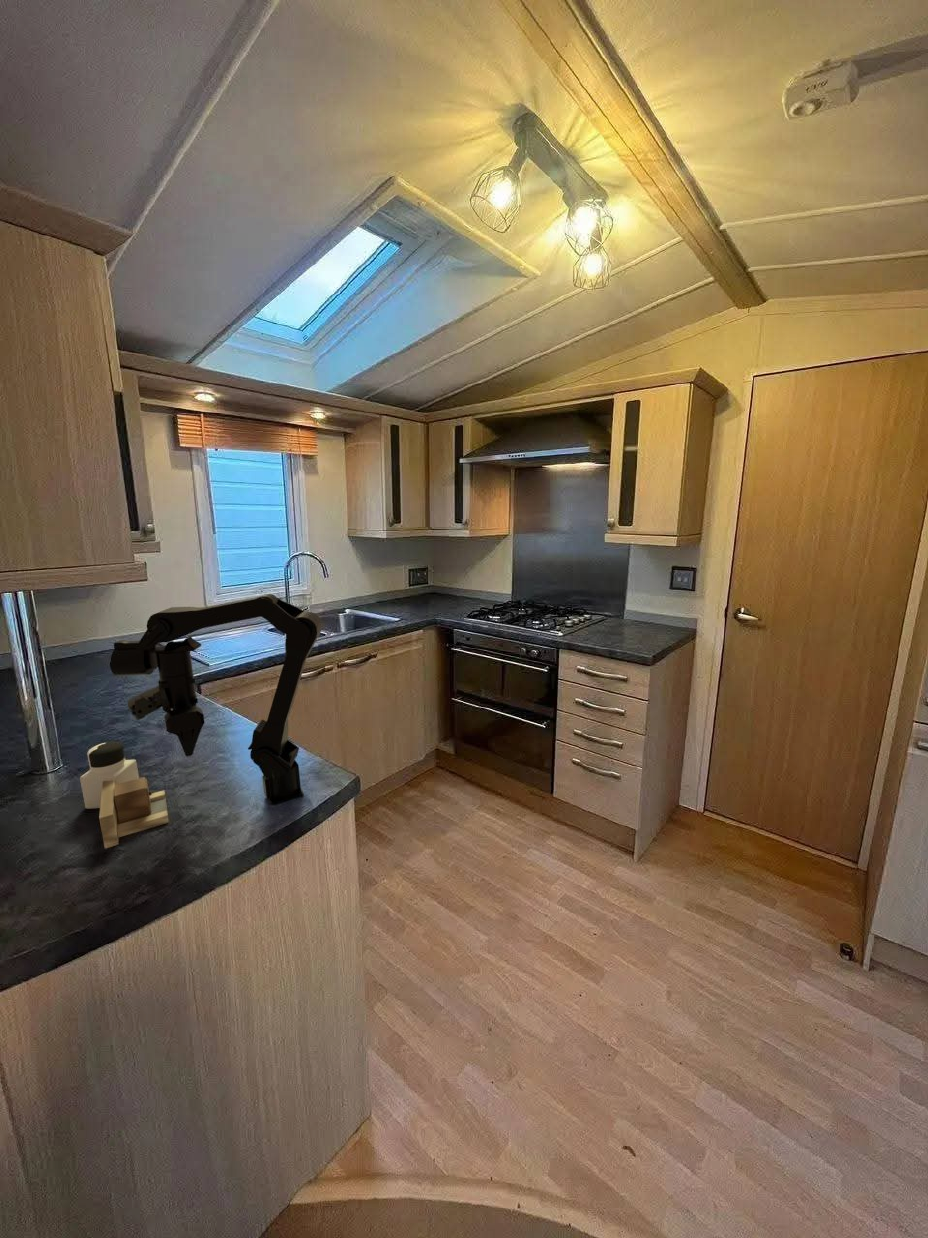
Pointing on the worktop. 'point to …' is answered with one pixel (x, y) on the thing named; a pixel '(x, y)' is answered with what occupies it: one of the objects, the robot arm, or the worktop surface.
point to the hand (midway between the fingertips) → (186, 747)
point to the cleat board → (116, 830)
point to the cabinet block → (132, 800)
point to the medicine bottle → (105, 771)
